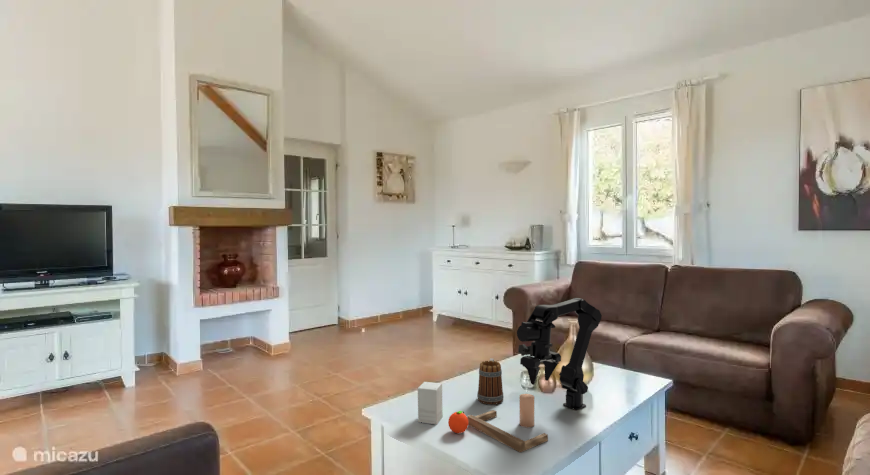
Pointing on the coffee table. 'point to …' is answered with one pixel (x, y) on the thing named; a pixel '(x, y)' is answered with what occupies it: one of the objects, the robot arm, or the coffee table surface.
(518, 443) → the bay
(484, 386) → the mug
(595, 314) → the robot arm
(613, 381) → the coffee table surface
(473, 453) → the coffee table surface
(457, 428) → the clementine
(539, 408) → the coffee table surface
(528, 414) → the tan cylinder
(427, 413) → the supplement box
